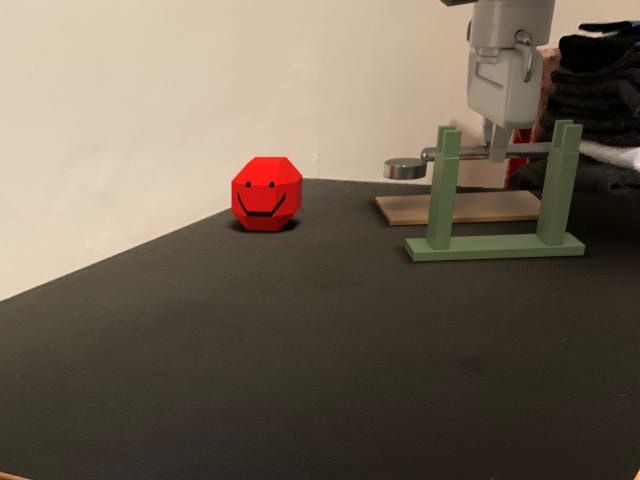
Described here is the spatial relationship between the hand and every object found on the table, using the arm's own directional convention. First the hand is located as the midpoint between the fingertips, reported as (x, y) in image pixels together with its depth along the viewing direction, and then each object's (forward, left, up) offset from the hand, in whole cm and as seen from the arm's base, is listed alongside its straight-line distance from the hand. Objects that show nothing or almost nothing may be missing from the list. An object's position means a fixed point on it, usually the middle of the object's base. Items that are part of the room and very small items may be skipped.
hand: (492, 160), depth 120 cm
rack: (+4, +20, -6) cm, 21 cm away
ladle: (+2, 0, -1) cm, 3 cm away
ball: (+28, +4, -6) cm, 29 cm away
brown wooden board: (+3, -1, -6) cm, 7 cm away
